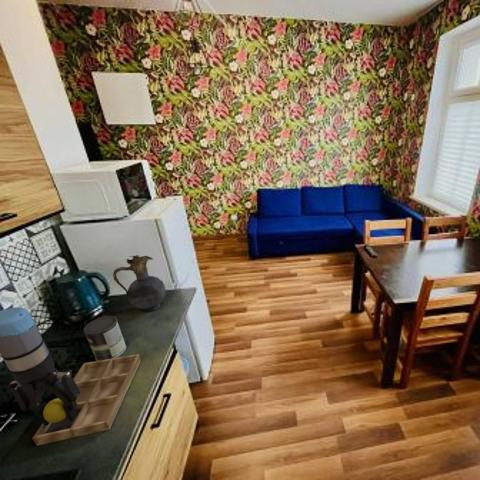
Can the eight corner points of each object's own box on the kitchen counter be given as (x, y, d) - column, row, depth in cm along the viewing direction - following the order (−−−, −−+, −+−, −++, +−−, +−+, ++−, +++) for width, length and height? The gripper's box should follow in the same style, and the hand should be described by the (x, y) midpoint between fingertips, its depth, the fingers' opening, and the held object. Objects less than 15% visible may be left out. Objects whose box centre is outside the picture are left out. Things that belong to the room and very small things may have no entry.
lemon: (72, 422, 79) (63, 403, 76) (47, 432, 76) (36, 414, 73) (75, 407, 83) (66, 389, 80) (51, 416, 81) (41, 398, 77)
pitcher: (167, 310, 132) (153, 256, 121) (122, 319, 126) (102, 263, 114) (170, 298, 142) (157, 247, 130) (128, 306, 135) (110, 253, 124)
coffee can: (96, 366, 101) (84, 338, 96) (94, 351, 108) (82, 323, 102) (128, 352, 107) (118, 324, 102) (124, 338, 114) (114, 312, 109)
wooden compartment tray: (36, 445, 76) (32, 438, 75) (86, 369, 100) (83, 363, 98) (109, 429, 80) (106, 422, 79) (140, 360, 104) (138, 353, 103)
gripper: (79, 344, 76) (103, 400, 85) (-2, 356, 72) (33, 413, 81) (63, 365, 70) (91, 423, 79) (-27, 380, 65) (14, 439, 74)
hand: (61, 418), depth 80 cm, fingers closed on lemon, 5 cm apart
